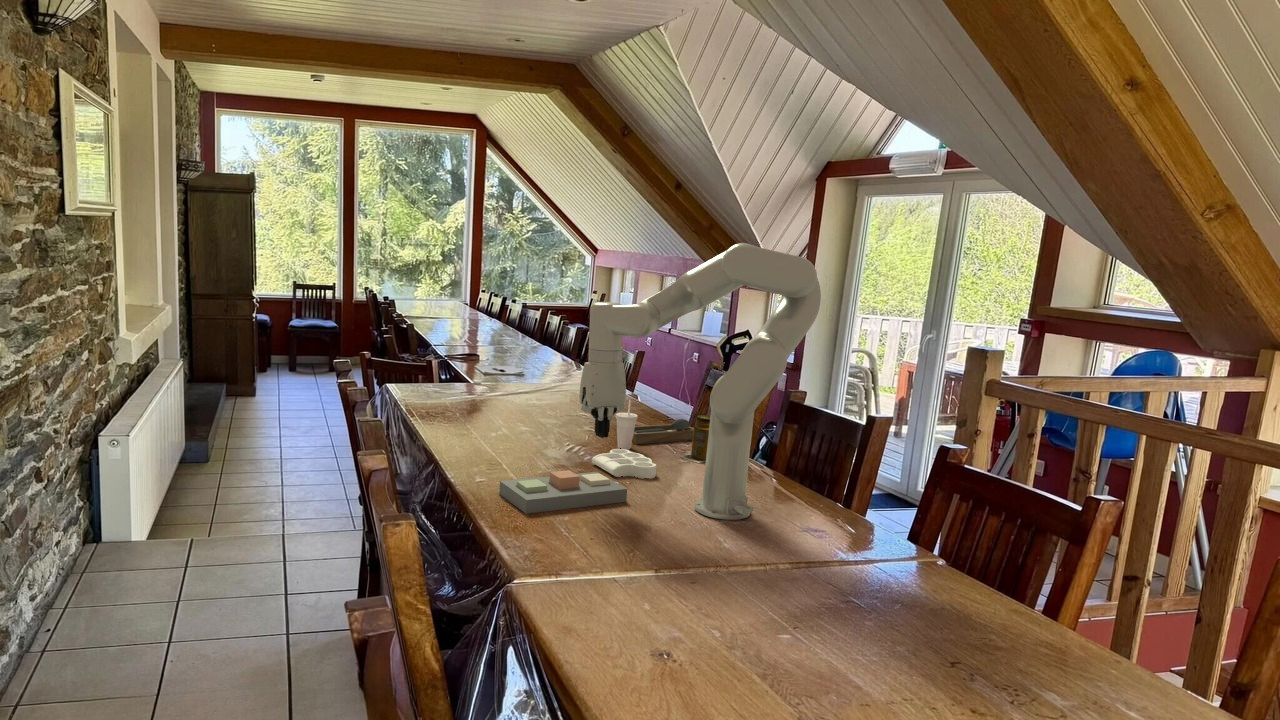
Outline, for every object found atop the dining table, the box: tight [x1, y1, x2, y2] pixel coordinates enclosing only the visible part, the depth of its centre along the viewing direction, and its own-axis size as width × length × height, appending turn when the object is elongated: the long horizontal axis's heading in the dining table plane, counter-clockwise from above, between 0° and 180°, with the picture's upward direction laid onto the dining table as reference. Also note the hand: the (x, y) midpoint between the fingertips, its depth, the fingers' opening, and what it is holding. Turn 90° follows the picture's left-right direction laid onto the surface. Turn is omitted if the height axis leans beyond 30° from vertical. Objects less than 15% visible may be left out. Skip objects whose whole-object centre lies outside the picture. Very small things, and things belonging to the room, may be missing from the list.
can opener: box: [634, 418, 690, 433], centre depth 245 cm, size 19×5×6 cm, turn 124°
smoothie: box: [615, 399, 639, 450], centre depth 230 cm, size 6×6×14 cm
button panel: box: [498, 471, 628, 515], centre depth 181 cm, size 14×25×3 cm, turn 123°
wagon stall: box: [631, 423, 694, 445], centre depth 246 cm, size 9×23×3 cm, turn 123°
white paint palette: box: [591, 448, 657, 479], centre depth 209 cm, size 3×18×15 cm
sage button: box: [517, 479, 547, 493], centre depth 177 cm, size 5×5×4 cm
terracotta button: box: [549, 469, 580, 490], centre depth 181 cm, size 5×5×4 cm
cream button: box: [580, 472, 610, 486], centre depth 186 cm, size 5×5×4 cm
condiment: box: [679, 414, 711, 464], centre depth 226 cm, size 7×8×12 cm
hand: (601, 436), depth 184 cm, fingers closed
